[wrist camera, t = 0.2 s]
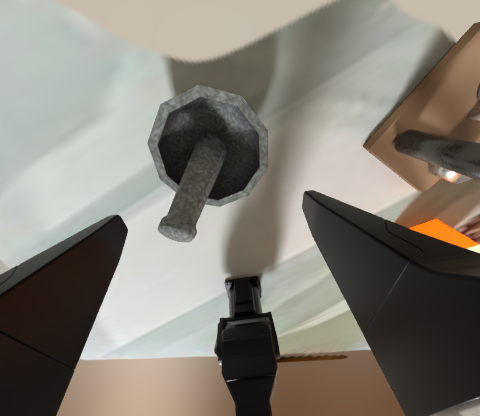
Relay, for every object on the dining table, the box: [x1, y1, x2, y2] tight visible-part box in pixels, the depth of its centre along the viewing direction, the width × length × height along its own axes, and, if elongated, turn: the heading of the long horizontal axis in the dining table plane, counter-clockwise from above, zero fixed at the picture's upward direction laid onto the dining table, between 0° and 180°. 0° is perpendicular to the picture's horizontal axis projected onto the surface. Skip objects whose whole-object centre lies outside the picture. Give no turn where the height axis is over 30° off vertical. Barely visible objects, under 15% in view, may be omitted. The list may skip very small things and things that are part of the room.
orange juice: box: [409, 219, 480, 253], centre depth 24 cm, size 8×9×20 cm
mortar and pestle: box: [148, 84, 268, 242], centre depth 16 cm, size 11×9×12 cm
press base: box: [363, 22, 480, 193], centre depth 20 cm, size 13×12×5 cm
